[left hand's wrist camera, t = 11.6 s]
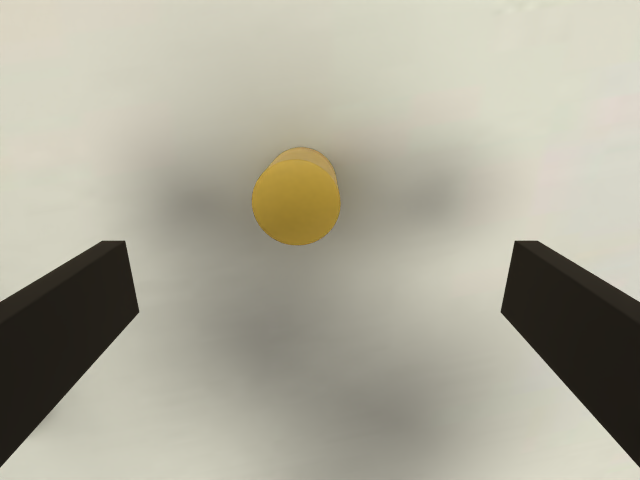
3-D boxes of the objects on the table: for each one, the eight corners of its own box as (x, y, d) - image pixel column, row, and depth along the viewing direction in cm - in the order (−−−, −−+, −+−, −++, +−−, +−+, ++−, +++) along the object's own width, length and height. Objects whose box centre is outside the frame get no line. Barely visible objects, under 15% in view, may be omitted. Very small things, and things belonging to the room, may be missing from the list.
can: (331, 142, 20) (334, 152, 16) (340, 211, 22) (345, 239, 17) (260, 152, 21) (242, 166, 16) (274, 220, 22) (261, 251, 17)
